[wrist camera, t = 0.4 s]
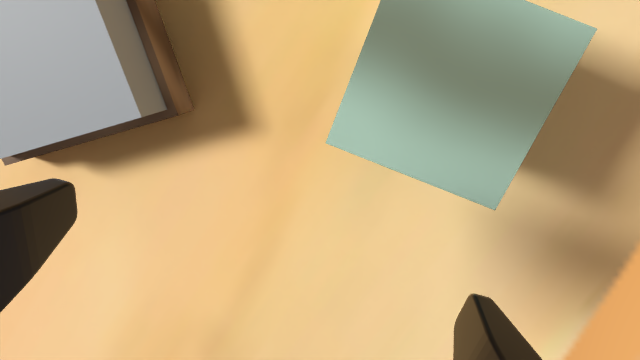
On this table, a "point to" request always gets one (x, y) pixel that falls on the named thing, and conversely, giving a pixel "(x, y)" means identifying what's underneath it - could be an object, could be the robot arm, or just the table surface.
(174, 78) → the walnut base slab
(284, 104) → the table surface
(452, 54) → the sage green block
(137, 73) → the slate grey top slab
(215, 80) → the table surface
